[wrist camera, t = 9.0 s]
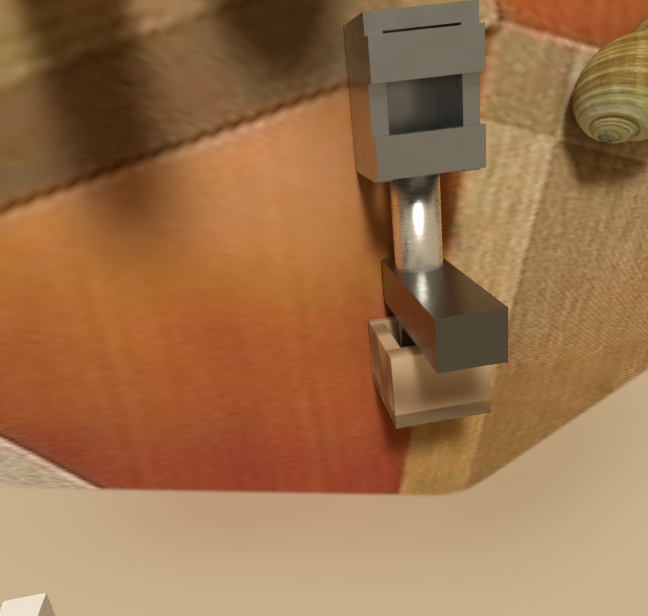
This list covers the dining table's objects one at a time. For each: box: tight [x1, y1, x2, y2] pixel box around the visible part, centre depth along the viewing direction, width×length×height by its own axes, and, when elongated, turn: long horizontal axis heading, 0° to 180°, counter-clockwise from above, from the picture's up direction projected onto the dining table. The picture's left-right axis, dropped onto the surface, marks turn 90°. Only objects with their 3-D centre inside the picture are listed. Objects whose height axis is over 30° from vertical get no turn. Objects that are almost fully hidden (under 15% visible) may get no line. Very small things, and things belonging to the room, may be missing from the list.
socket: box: [368, 316, 490, 429], centre depth 41 cm, size 5×7×7 cm
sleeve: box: [343, 0, 486, 183], centre depth 34 cm, size 9×6×7 cm
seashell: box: [572, 18, 648, 144], centre depth 38 cm, size 10×7×8 cm
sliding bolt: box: [381, 173, 508, 374], centre depth 36 cm, size 16×4×12 cm, turn 6°
